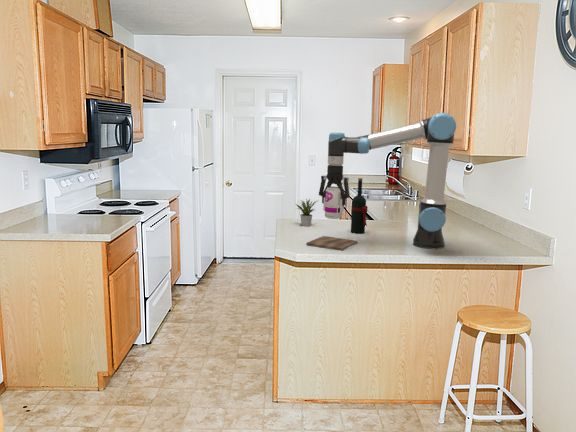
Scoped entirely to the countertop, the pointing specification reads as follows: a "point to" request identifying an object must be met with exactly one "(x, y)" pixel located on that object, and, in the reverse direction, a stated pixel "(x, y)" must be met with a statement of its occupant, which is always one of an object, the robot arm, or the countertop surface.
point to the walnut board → (332, 243)
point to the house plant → (306, 213)
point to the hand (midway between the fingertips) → (333, 211)
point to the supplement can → (332, 203)
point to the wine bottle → (358, 211)
